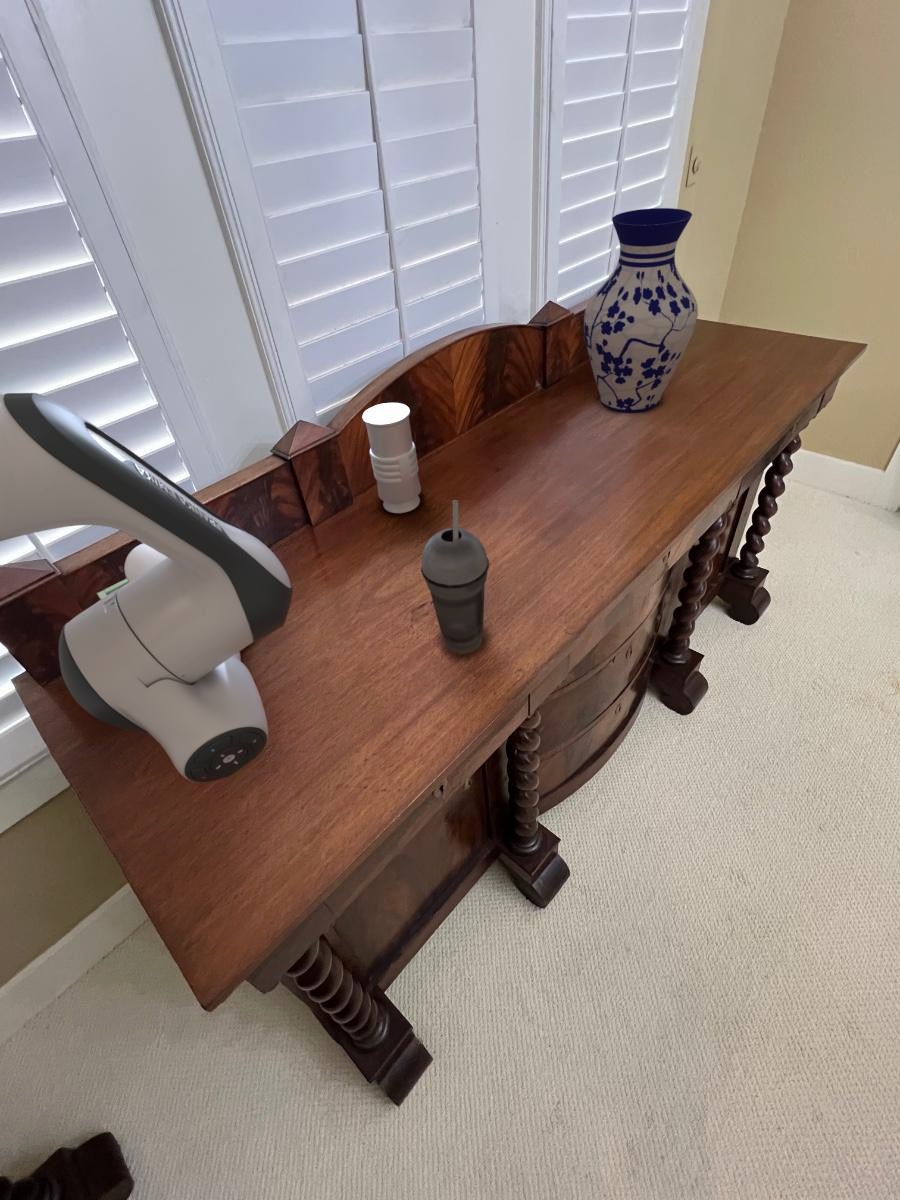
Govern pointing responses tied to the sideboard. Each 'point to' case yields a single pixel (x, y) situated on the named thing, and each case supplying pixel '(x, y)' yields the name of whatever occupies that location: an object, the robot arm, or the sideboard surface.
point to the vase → (640, 312)
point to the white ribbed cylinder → (393, 456)
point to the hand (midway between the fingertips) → (161, 577)
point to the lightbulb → (141, 561)
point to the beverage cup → (457, 584)
